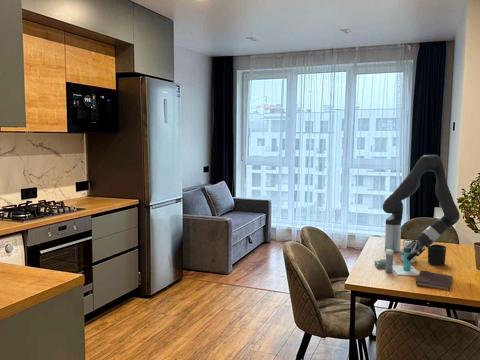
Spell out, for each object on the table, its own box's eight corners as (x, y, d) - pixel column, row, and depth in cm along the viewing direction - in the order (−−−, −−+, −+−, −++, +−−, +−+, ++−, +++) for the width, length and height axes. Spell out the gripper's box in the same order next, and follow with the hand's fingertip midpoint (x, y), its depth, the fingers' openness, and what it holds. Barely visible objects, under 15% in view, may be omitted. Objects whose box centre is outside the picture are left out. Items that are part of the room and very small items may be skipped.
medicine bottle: (402, 258, 253) (403, 238, 252) (415, 260, 250) (416, 239, 249) (400, 261, 247) (401, 240, 246) (413, 263, 244) (414, 242, 243)
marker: (402, 268, 230) (402, 247, 229) (409, 268, 230) (410, 247, 229) (404, 270, 227) (404, 248, 225) (411, 271, 226) (412, 248, 225)
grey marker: (384, 271, 228) (384, 249, 227) (391, 271, 228) (392, 249, 227) (386, 273, 224) (386, 251, 223) (393, 273, 224) (394, 251, 223)
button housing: (374, 264, 240) (374, 260, 240) (387, 265, 239) (387, 260, 239) (377, 268, 233) (377, 264, 233) (390, 268, 232) (390, 264, 232)
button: (379, 263, 238) (379, 258, 237) (384, 263, 237) (384, 258, 237) (380, 264, 235) (380, 259, 234) (386, 264, 234) (386, 259, 234)
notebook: (452, 279, 215) (452, 275, 214) (450, 290, 197) (450, 286, 197) (420, 273, 222) (420, 269, 222) (415, 284, 205) (415, 280, 204)
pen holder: (447, 266, 237) (448, 248, 236) (429, 265, 239) (430, 247, 238) (442, 261, 246) (443, 244, 245) (425, 260, 248) (426, 244, 247)
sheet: (389, 266, 237) (389, 265, 237) (411, 266, 236) (411, 265, 236) (397, 275, 221) (397, 274, 221) (421, 275, 220) (421, 274, 220)
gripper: (418, 228, 233) (396, 249, 235) (428, 234, 219) (404, 255, 221) (428, 238, 233) (406, 258, 235) (438, 244, 219) (414, 266, 221)
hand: (405, 257), depth 228 cm, fingers open, 8 cm apart
